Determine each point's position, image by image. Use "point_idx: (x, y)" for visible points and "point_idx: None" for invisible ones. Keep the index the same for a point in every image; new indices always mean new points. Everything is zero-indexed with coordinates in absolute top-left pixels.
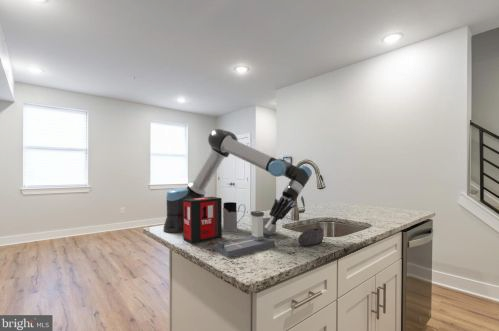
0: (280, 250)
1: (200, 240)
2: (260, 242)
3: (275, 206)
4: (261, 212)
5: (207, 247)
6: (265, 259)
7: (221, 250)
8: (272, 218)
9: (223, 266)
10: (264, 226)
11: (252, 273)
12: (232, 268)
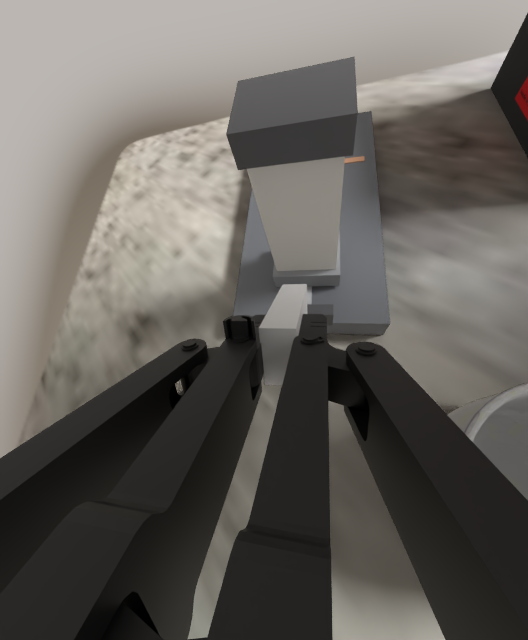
0: (188, 315)
1: (510, 104)
2: (258, 252)
3: (444, 539)
4: (235, 115)
5: (409, 124)
6: (174, 225)
7: None
8: (267, 317)
9: (224, 129)
10: (464, 411)
11: (146, 164)
12: (199, 141)
